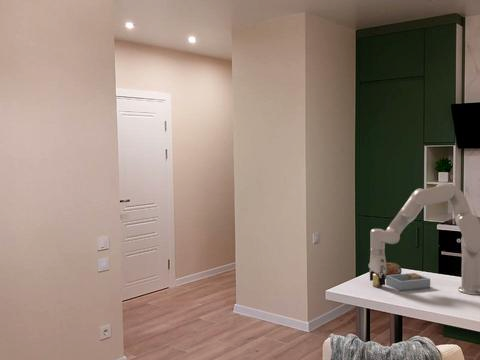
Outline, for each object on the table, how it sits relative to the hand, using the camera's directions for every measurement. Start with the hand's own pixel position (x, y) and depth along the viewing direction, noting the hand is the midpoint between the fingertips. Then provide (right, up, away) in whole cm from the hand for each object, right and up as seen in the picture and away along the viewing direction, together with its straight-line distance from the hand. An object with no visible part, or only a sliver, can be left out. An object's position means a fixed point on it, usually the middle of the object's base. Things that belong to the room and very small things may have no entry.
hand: (377, 282), depth 266 cm
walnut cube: (+20, -1, 0) cm, 20 cm away
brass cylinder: (0, -2, 0) cm, 2 cm away
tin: (+12, -1, +20) cm, 23 cm away
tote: (+16, -2, -1) cm, 17 cm away
